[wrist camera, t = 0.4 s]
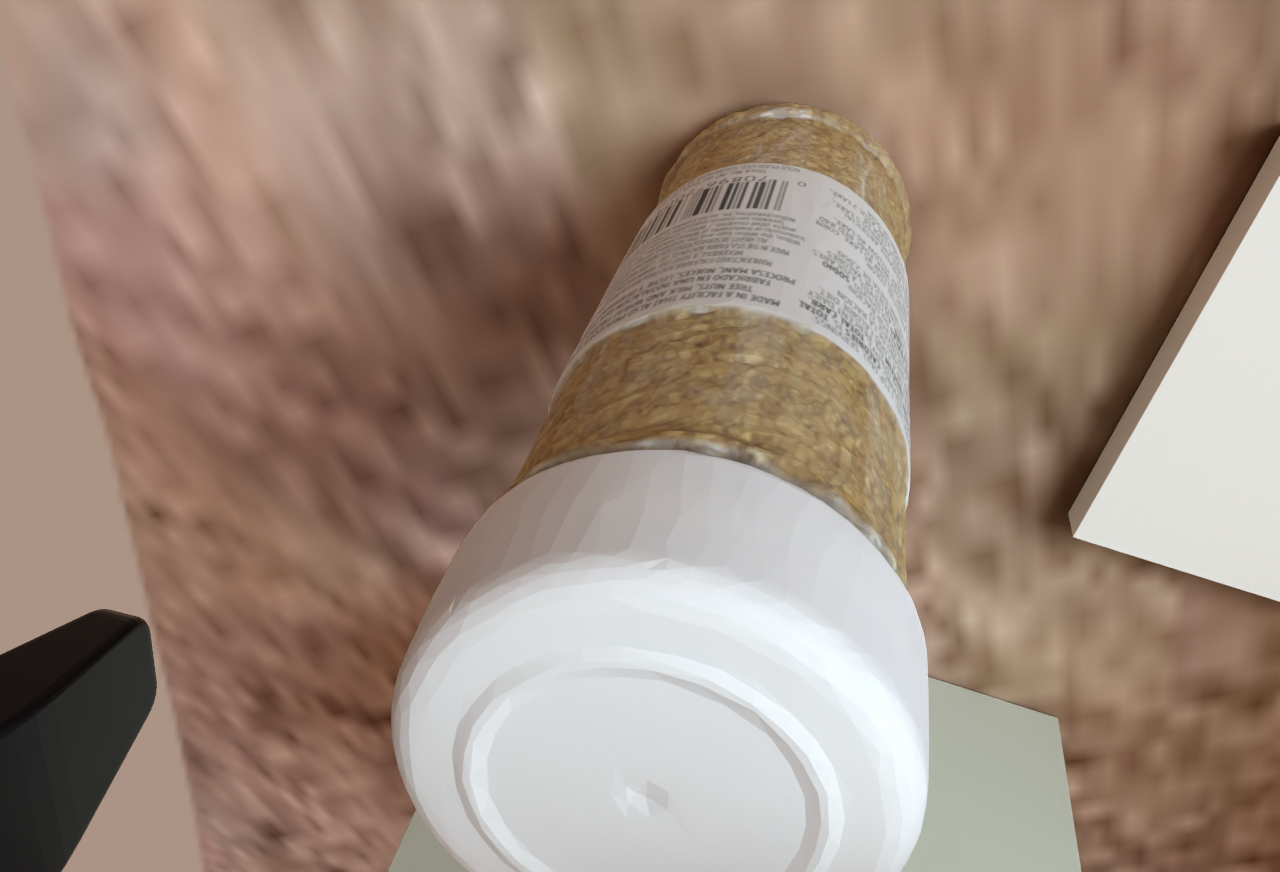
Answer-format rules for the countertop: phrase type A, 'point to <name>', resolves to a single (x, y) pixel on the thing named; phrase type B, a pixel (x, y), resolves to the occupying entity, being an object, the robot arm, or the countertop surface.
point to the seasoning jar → (700, 549)
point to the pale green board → (944, 794)
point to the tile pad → (1206, 422)
